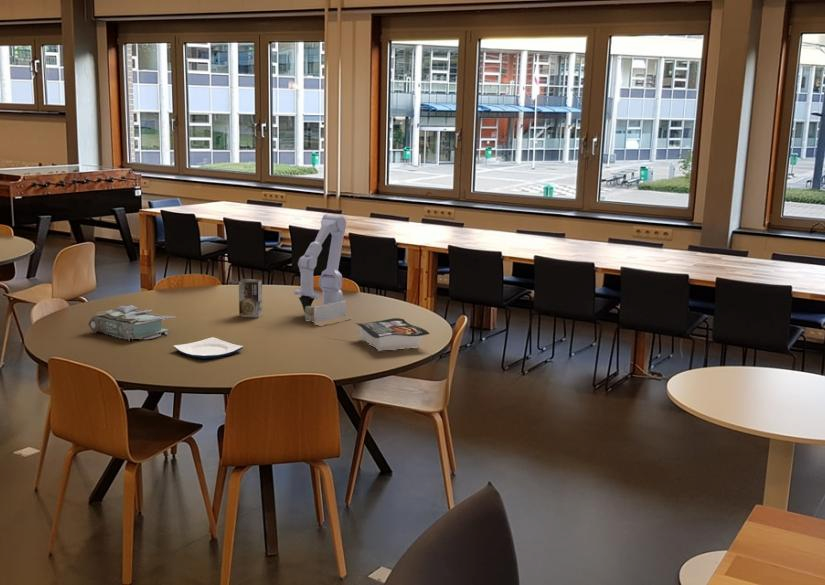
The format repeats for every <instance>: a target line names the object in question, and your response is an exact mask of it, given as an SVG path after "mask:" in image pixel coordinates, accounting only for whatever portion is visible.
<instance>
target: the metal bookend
mask: <svg viewBox="0 0 825 585" xmlns="http://www.w3.org/2000/svg"><path fill="white" fill-rule="evenodd" d="M313 307H314V323H315V324H316V323H319V322H323V321H327V320H331V319H335V318H339V317H344V316H346V317H347V300H343V301H340V302H336V303H331V304H326V305H322V304H321V305H318V306H317V305H315V306H313ZM314 323H313V324H314Z"/></svg>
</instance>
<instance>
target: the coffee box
mask: <svg viewBox="0 0 825 585" xmlns="http://www.w3.org/2000/svg"><path fill="white" fill-rule="evenodd" d="M238 299H239V300H238V312H239V314H238V315H239V316H241V317H240V318H260V317H261V316H263V279H251V278H250V279H249V278H242V279H241V280H239V281H238ZM239 316H238V317H239Z"/></svg>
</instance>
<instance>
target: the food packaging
mask: <svg viewBox="0 0 825 585" xmlns="http://www.w3.org/2000/svg"><path fill="white" fill-rule="evenodd" d="M354 324H356V325H357V326H358V327H359V328H358V329H359V332H360V340H361V341H362V340H365V342H368V343H369V344H368V346H369V345H371V346H373V348H374V347H375V348H376V349H377V350H378V351H382V350H391V349H400V348H412V347H419V348H420V345H421V341H422V338H423V336H427V335H430V332H429V331H428V330H426V329H424V328H422V327H419V326H417V325H416V326H415V325H414V324H410V323H409V322H407V321H406V320H405V318H400V317H398V318H397V317H395V318H388V319H383V320H377V321H372V322H362V323H361V322H359V323H358V322H357V323H356V322H355V323H354ZM371 346H370V347H371ZM375 348H374V349H375ZM376 349H375V350H376ZM377 350H376V351H377ZM378 351H377V352H378ZM382 352H383V351H382Z"/></svg>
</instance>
